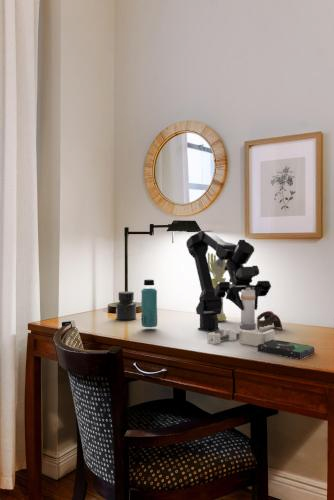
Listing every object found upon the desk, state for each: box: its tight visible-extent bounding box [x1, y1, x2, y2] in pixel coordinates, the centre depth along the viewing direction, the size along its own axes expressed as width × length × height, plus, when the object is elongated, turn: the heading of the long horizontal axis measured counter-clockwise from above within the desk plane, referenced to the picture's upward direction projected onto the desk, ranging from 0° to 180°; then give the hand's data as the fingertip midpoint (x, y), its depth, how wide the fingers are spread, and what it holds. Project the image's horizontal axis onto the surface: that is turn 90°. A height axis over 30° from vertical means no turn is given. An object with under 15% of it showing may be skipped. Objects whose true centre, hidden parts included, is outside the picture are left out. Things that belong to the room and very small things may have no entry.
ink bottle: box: [115, 291, 137, 321], centre depth 198 cm, size 10×9×12 cm
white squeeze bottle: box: [239, 287, 257, 331], centre depth 145 cm, size 5×5×14 cm
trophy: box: [207, 252, 228, 322], centre depth 193 cm, size 8×8×30 cm
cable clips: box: [207, 328, 237, 345], centre depth 158 cm, size 4×21×3 cm, turn 125°
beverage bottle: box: [140, 279, 158, 328], centre depth 175 cm, size 6×7×20 cm
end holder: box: [238, 329, 275, 347], centre depth 153 cm, size 9×9×4 cm
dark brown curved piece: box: [256, 310, 283, 331], centre depth 176 cm, size 12×10×8 cm
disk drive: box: [257, 339, 315, 360], centre depth 140 cm, size 10×3×15 cm
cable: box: [212, 332, 239, 342], centre depth 158 cm, size 5×20×1 cm, turn 112°
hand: (249, 309), depth 144 cm, fingers closed on white squeeze bottle, 4 cm apart
